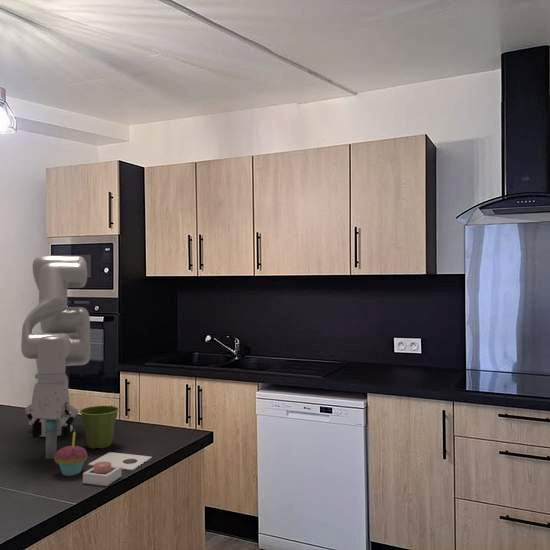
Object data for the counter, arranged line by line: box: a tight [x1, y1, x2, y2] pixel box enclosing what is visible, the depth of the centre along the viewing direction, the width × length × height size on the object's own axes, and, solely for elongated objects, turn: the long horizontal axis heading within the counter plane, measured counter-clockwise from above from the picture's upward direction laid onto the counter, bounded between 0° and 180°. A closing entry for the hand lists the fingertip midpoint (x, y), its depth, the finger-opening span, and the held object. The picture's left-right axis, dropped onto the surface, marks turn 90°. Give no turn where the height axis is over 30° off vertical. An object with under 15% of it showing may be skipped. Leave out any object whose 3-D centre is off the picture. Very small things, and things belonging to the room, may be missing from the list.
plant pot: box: [79, 405, 120, 449], centre depth 179 cm, size 12×12×11 cm
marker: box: [45, 420, 58, 460], centre depth 167 cm, size 3×3×11 cm
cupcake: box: [54, 429, 88, 477], centre depth 155 cm, size 9×8×12 cm
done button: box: [93, 462, 111, 475], centre depth 150 cm, size 4×4×2 cm
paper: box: [87, 451, 153, 471], centre depth 165 cm, size 14×11×1 cm
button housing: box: [82, 466, 122, 487], centre depth 150 cm, size 7×7×2 cm
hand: (51, 437), depth 167 cm, fingers open, 9 cm apart
